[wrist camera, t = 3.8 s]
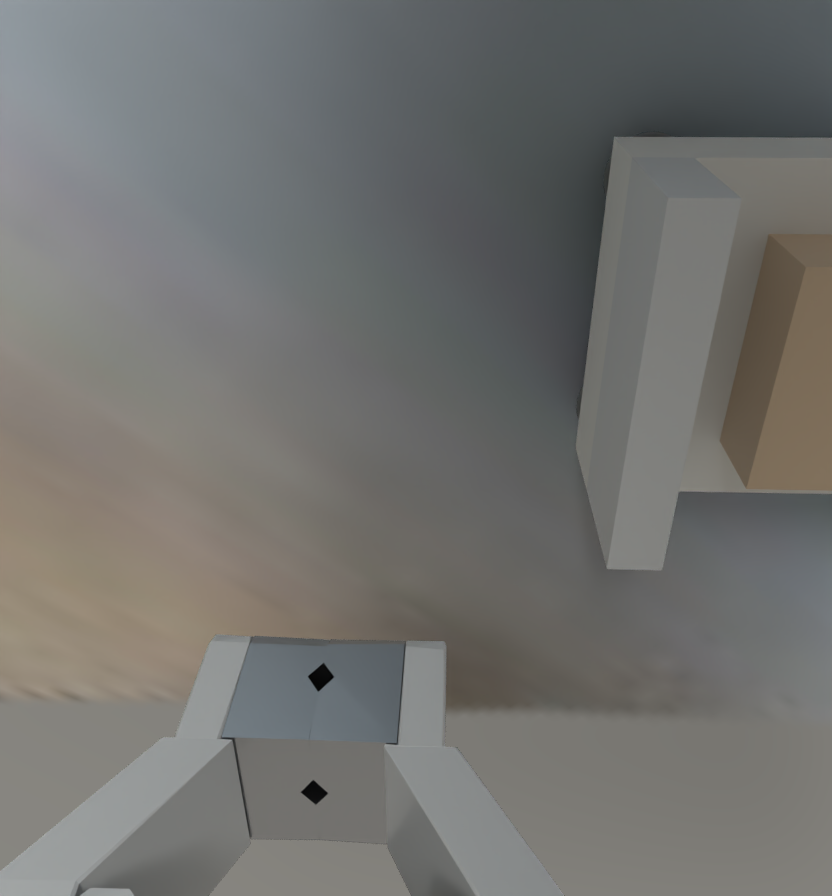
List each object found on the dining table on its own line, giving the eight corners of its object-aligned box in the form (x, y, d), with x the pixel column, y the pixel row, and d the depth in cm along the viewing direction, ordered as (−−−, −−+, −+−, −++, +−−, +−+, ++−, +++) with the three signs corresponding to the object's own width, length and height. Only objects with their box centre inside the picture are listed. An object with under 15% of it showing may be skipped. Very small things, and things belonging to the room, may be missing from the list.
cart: (602, 124, 19) (668, 198, 13) (1039, 125, 18) (1295, 201, 13) (568, 419, 23) (606, 569, 17) (922, 424, 22) (1075, 578, 17)
